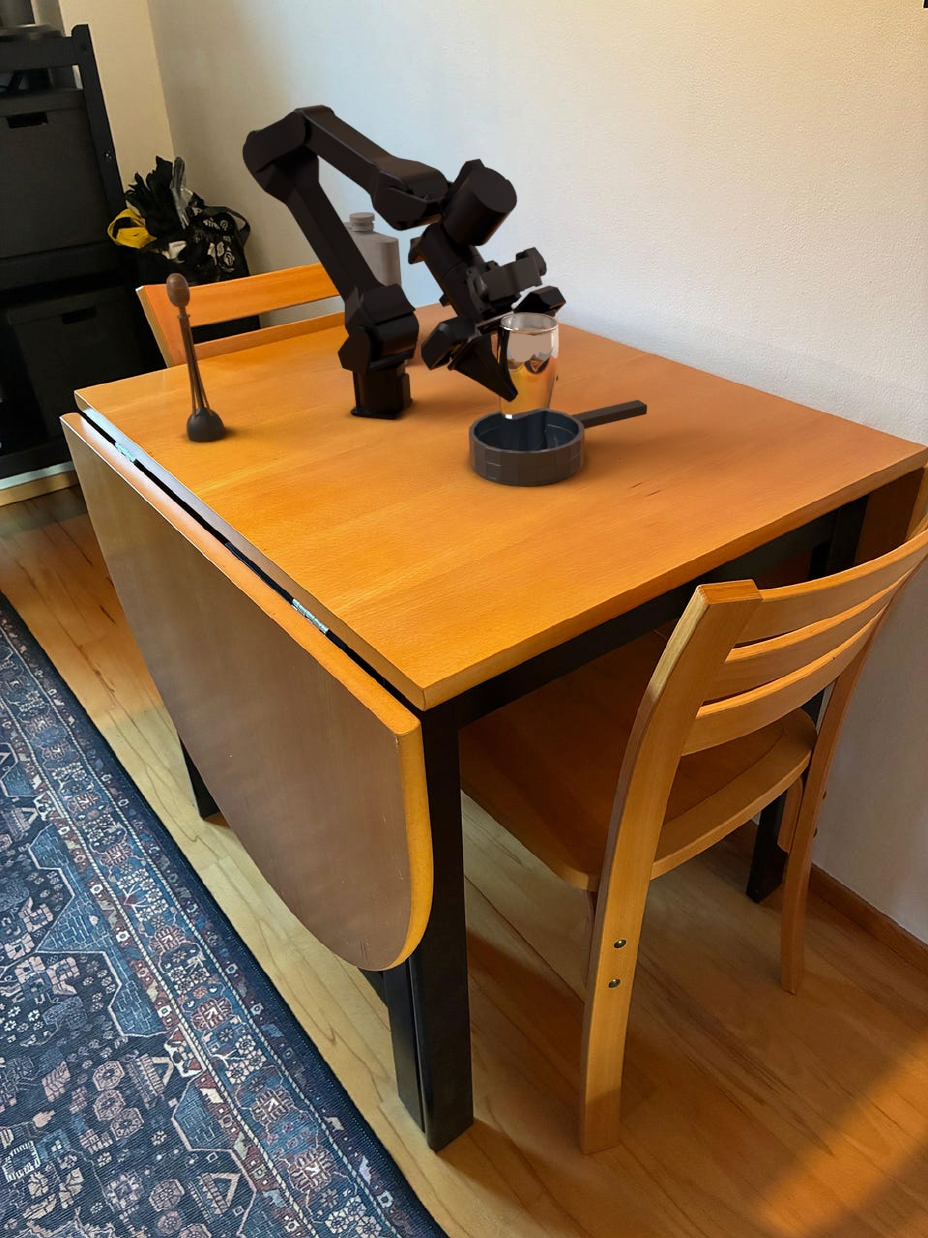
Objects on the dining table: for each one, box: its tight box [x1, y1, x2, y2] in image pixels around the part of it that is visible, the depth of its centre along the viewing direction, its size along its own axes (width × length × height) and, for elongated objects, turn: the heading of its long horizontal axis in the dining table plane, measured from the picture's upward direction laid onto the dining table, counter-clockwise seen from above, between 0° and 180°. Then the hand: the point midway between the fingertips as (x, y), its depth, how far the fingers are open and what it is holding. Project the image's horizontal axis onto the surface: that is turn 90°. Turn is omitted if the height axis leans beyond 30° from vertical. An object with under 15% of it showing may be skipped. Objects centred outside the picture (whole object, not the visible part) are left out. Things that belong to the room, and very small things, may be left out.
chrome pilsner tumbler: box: [494, 313, 560, 451], centre depth 109 cm, size 7×7×15 cm
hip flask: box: [343, 211, 408, 366], centre depth 142 cm, size 16×4×20 cm, turn 29°
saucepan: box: [468, 408, 586, 487], centre depth 112 cm, size 13×13×4 cm
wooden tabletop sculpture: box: [165, 272, 227, 443], centre depth 119 cm, size 6×5×20 cm
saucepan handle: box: [570, 399, 648, 430], centre depth 115 cm, size 10×2×1 cm, turn 116°
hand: (534, 390), depth 108 cm, fingers closed on chrome pilsner tumbler, 7 cm apart
